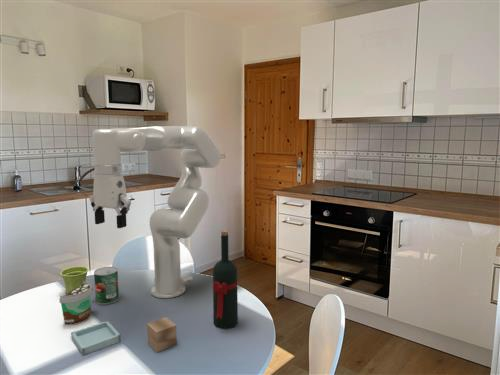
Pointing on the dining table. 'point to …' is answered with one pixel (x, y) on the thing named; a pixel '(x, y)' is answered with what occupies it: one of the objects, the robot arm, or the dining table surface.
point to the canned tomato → (106, 285)
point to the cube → (161, 334)
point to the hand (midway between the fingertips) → (110, 225)
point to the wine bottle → (225, 289)
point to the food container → (77, 304)
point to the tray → (95, 337)
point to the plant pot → (74, 277)
